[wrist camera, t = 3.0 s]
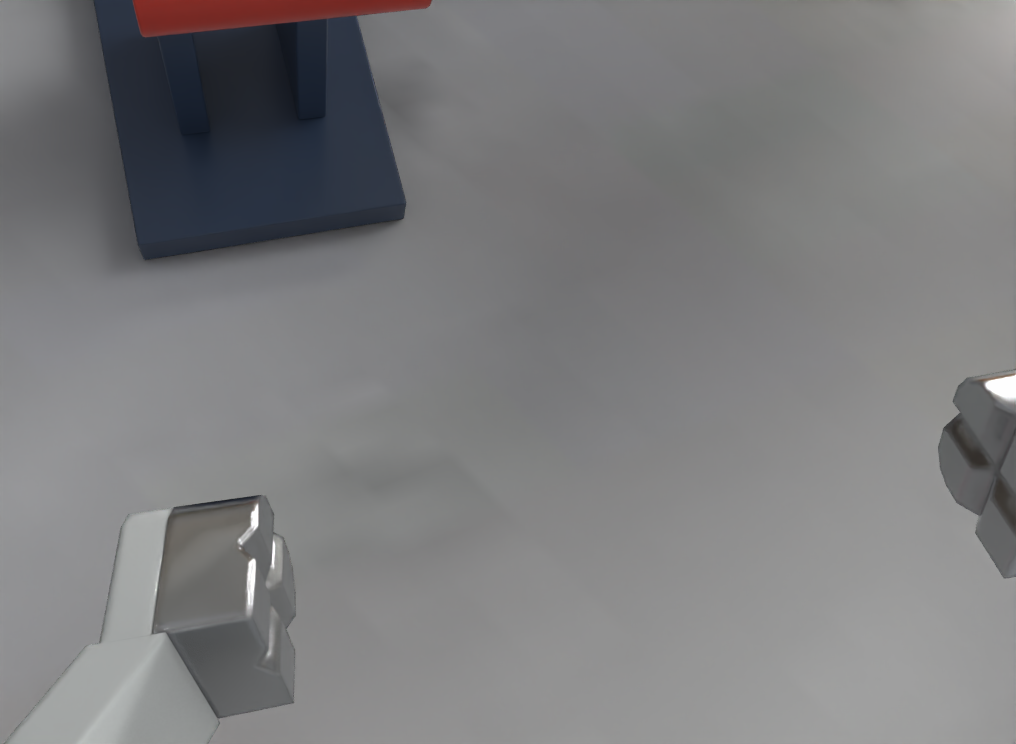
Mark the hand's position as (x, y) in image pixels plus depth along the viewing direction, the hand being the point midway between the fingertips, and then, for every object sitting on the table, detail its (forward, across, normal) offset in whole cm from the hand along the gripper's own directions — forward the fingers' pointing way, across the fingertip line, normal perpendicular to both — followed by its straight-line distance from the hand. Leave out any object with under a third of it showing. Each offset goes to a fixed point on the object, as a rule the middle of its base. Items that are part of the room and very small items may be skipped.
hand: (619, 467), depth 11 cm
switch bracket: (+26, +8, +8) cm, 29 cm away
